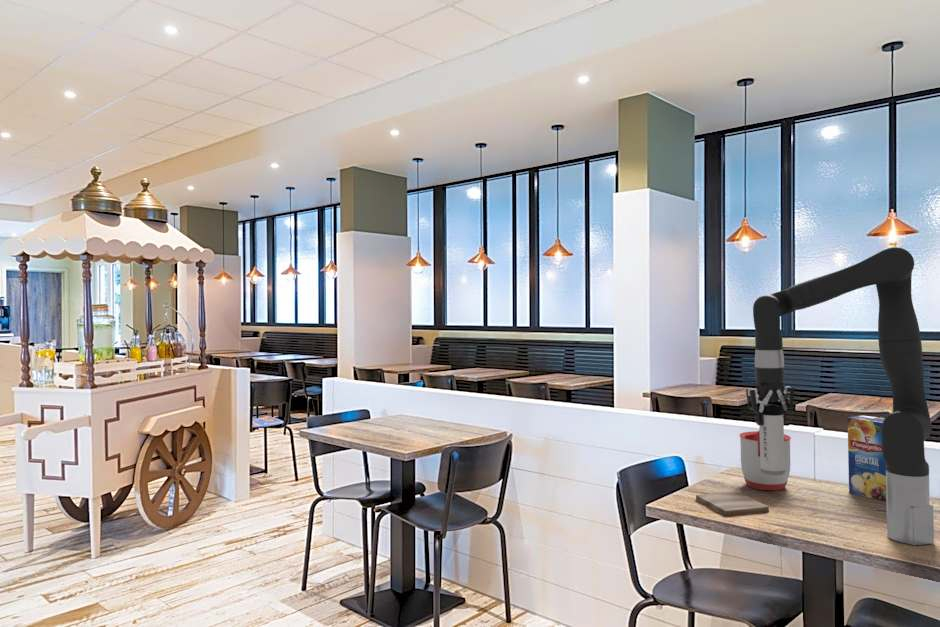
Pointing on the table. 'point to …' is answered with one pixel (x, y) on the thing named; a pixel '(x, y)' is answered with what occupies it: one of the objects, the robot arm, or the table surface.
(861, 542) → the table surface
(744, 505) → the walnut board
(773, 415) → the travel mug
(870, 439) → the juice carton
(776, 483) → the citrus juicer
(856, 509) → the table surface
